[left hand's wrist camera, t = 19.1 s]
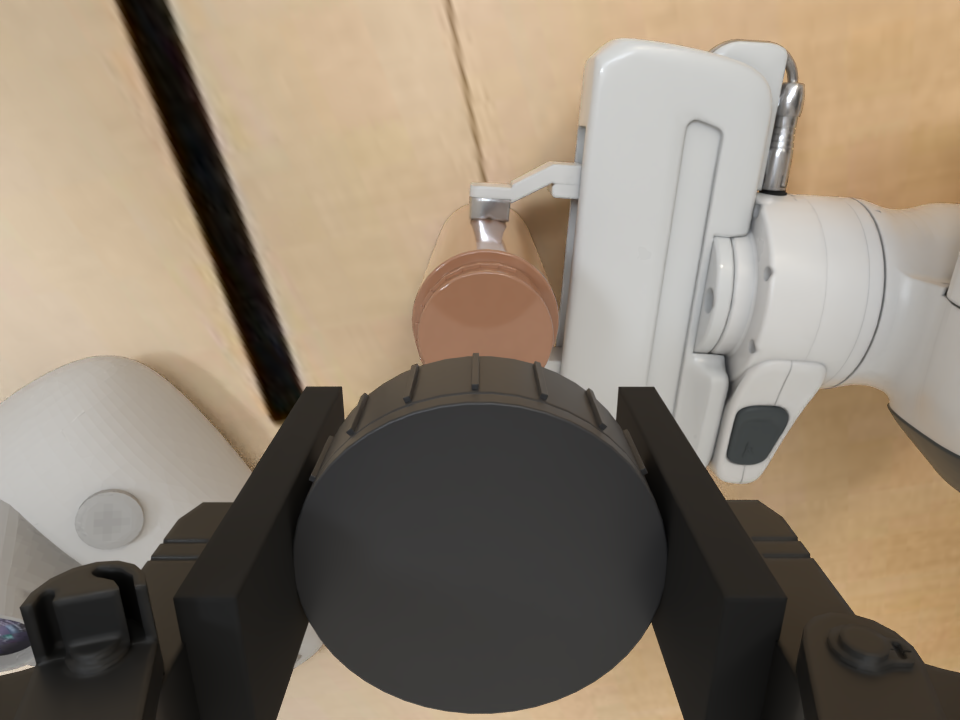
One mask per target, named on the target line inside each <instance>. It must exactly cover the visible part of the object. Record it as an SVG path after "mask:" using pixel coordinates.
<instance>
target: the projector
mask: <svg viewBox="0 0 960 720" xmlns="http://www.w3.org/2000/svg"><path fill="white" fill-rule="evenodd" d="M251 473H252V471H251V470H250V468H249V467H248V466H247V465H246V463H245V462H244V461H243V460H242V458H241V457H240V456H239V455H238V453H237V452H236V451H235V450H234V449H233V448H232V446H231V445H230V444H229V443H228V442H227V441H226V439H225V438H224V437H223V436H222V435H221V434H220V432H219V431H218V430H217V429H216V428H215V427H214V426H213V425H212V424H211V423H210V421H209V420H208V419H207V418H206V417H205V416H204V415H203V414H202V413H201V412H200V411H199V410H198V409H197V408H196V407H195V406H194V405H193V404H192V403H191V402H190V401H189V400H188V399H187V398H186V397H185V396H184V395H183V394H182V393H181V392H180V391H179V390H178V389H177V388H175V387H174V386H173V385H172V384H171V383H170V382H169V381H167V380H166V379H165V378H163V377H162V376H161V375H159V374H158V373H157V372H155V371H154V370H152V369H151V368H149V367H147V366H146V365H144V364H142V363H139V362H137V361H135V360H132V359H128V358H125V357H119V356H94V357H88V358H84V359H81V360H78V361H74V362H71V363H69V364H66V365H64V366H61V367H59V368H57V369H55V370H53V371H50V372H48V373H46V374H45V375H43V376H41V377H39V378H37V379H36V380H34V381H32V382H31V383H29V384H27V385H26V386H24V387H23V388H21V389H20V390H18V391H17V392H15V393H14V394H12V395H11V396H10V397H8V398H7V399H6V400H4V401H3V402H1V403H0V672H3V671H8V670H13V669H16V668H19V667H22V666H25V665H31V666H35V665H36V661H35V658H34V655H33V651H32V648H31V645H30V641H29V638H28V635H27V631H26V628H25V625H24V621H23V618H22V615H21V611H20V608H19V607H20V606H21V605H22V604H23V602H24V601H25V600H26V598H27V597H28V596H29V595H30V593H31V592H32V591H34V590H35V589H37V588H38V587H39V586H41V585H42V584H43V583H45V582H46V581H48V580H49V579H50V578H53V577H55V576H57V575H59V574H61V573H63V572H66V571H68V570H70V569H72V568H75V567H79V566H83V565H86V564H90V563H94V562H101V561H123V562H127V563H132V564H135V565H136V566H137V567H139V568H140V569H142V568H143V566H144V565H145V564H146V562H147V561H150V560H151V555H152V554H153V553H154V551H155V550H156V549H157V547H158V546H159V545H160V544H163V539H164V538H165V537H166V535H167V534H168V533H169V531H170V530H171V528H172V527H173V526H174V524H175V523H176V522H177V520H178V519H180V518H181V517H182V516H184V515H185V514H187V513H188V512H190V511H191V510H192V509H194V508H195V507H197V506H198V505H200V504H201V503H203V502H234V500H235V499H236V497H237V496H238V494H239V492H240V491H241V489H242V488H243V486H244V484H245V483H246V481H247V480H248V478H249V477H250V475H251ZM322 645H323V642H322V641H321V640H320V639H319V637H318V635H317V634H316V632H315V631H314V629H313V628H312V626H311V624H310V623H308V626H307V629H306V632H305V635H304V638H303V641H302V644H301V647H300V650H299V653H298V656H297V659H296V662H295V665H294V668H296V667H297V666H299V665H300V664H302V663H303V662H305V661H306V660H307V659H309V658H310V657H311V656H312V655H314V654H315V653H316V652H317V651H318V650H319V649H320V647H321V646H322ZM294 668H293V669H294Z"/></svg>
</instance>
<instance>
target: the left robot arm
mask: <svg viewBox="0 0 960 720" xmlns="http://www.w3.org/2000/svg"><path fill="white" fill-rule="evenodd" d="M344 421H345V419H344V407H343V394H342V387H306V388H305V389H304V391H303V393H302V394H301V396H300V397H299V399H298V401H297V402H296V404H295V405H294V407H293V408H292V410H291V412H290V413H289V415H288V416H287V418H286V420H285V421H284V423H283V424H282V426H281V427H280V429H279V431H278V432H277V434H276V435H275V437H274V439H273V440H272V442H271V443H270V445H269V446H268V448H267V450H266V451H265V453H264V454H263V456H262V458H261V459H260V461H259V462H258V464H257V465H256V467H255V469H254V470H253V472H252V473H251V475H250V477H249V478H248V480H247V481H246V483H245V484H244V486H243V488H242V489H241V491H240V492H239V494H238V496H237V497H236V499H235V500H234V502H203V503H201V504H200V505H198V506H197V507H195V508H194V509H192V510H191V511H190V512H188V513H187V514H185V515H184V516H182V517H181V518H180V519H178V520H177V522H176V523H175V524H174V526H173V527H172V528H171V530H170V531H169V533H168V534H167V535H166V537H165V538H164V539H163V544H160V545H159V546H158V547H157V549H156V550H155V551H154V553H153V554H152V555H151V560H150V561H147V562H146V564H145V565H144V566H143V568H142V569H140V568H139V567H137V566H136V565H135V564H132V563H127V562H123V561H101V562H94V563H90V564H86V565H83V566H79V567H75V568H72V569H70V570H68V571H66V572H63V573H61V574H59V575H57V576H55V577H53V578H50V579H49V580H48V581H46V582H45V583H43V584H42V585H41V586H39V587H38V588H37V589H35V590H34V591H32V592H31V593H30V595H29V596H28V597H27V598H26V600H25V601H24V602H23V604H22V605H21V606H20V607H19V608H20V611H21V615H22V618H23V621H24V625H25V628H26V631H27V635H28V638H29V641H30V645H31V648H32V651H33V655H34V658H35V661H36V665H35V667H33V668H29V669H26V670H23V671H19V672H15V673H10V674H6V675H2V676H0V720H276V719H277V716H278V713H279V710H280V707H281V704H282V701H283V698H284V695H285V692H286V689H287V686H288V683H289V680H290V677H291V674H292V671H293V668H294V665H295V662H296V659H297V656H298V653H299V650H300V647H301V644H302V641H303V638H304V635H305V632H306V629H307V626H308V623H309V621H308V619H307V617H306V614H305V612H304V610H303V608H302V605H301V603H300V600H299V596H298V593H297V589H296V581H295V573H294V564H293V540H294V535H295V530H296V524H297V520H298V518H299V515H300V512H301V509H302V507H303V504H304V501H305V499H306V497H307V495H308V492H309V491H310V488H311V486H312V484H313V482H312V481H309V478H310V476H311V474H312V472H313V469H314V467H315V465H316V463H317V461H318V459H319V457H320V454H321V452H322V450H323V448H324V446H325V444H326V442H327V439H328V438H329V436H332V437H335V435H336V433H337V431H338V429H339V427H340V426H341V425H342V423H343V422H344ZM616 421H617V423H618V424H619V425H620V427H621V429H622V430H623V431H624V430H626V429H627V430H628V431H629V433H630V435H631V437H632V440H633V442H634V444H635V446H636V448H637V450H638V453H639V455H640V457H641V459H642V461H643V463H644V466H645V468H646V470H647V472H648V473H647V474H645V475H644V476H645V478H646V481H647V483H648V485H649V487H650V490H651V492H652V494H653V496H654V499H655V501H656V503H657V506H658V509H659V511H660V514H661V517H662V519H663V523H664V528H665V533H666V538H667V548H668V559H667V569H666V577H665V585H664V590H663V594H662V598H661V601H660V604H659V606H658V609H657V611H656V613H655V615H654V618H653V620H652V625H653V628H654V631H655V634H656V637H657V640H658V643H659V646H660V649H661V652H662V655H663V658H664V661H665V664H666V667H667V670H668V673H669V676H670V679H671V682H672V685H673V688H674V691H675V694H676V697H677V700H678V703H679V706H680V709H681V712H682V715H683V718H684V720H960V673H958V672H954V671H949V670H945V669H941V668H937V667H934V666H931V665H927V664H924V662H923V661H922V659H921V658H920V656H919V655H918V653H917V652H916V650H915V649H914V647H913V646H912V645H910V644H909V643H908V642H907V641H906V640H904V639H903V638H902V637H901V636H900V635H898V634H897V633H896V632H894V631H893V630H891V629H889V628H887V627H885V626H883V625H881V624H879V623H877V622H875V621H873V620H870V619H867V618H863V617H860V616H857V615H855V614H854V612H853V611H852V610H851V608H850V607H849V606H848V604H847V603H846V602H845V600H844V599H843V598H842V596H841V595H840V594H839V592H838V591H837V590H836V588H835V587H834V586H833V584H832V583H831V582H830V580H829V579H828V577H827V576H826V575H825V573H824V572H823V571H822V569H821V568H820V567H819V565H818V564H817V563H816V561H815V560H814V559H813V558H810V553H809V552H808V551H807V549H806V548H805V547H804V545H803V544H802V543H801V541H798V537H797V536H796V535H795V533H794V532H793V531H792V529H791V528H790V526H789V525H788V524H787V522H786V521H785V520H784V518H783V517H781V516H780V515H779V514H777V513H776V512H774V511H773V510H771V509H770V508H768V507H767V506H766V505H764V504H763V503H761V502H760V501H758V500H725V498H724V496H723V495H722V493H721V492H720V490H719V489H718V487H717V485H716V484H715V482H714V481H713V479H712V477H711V476H710V474H709V473H708V471H707V470H706V468H705V466H704V465H703V463H702V462H701V460H700V458H699V457H698V455H697V454H696V452H695V451H694V449H693V447H692V446H691V444H690V443H689V441H688V439H687V438H686V436H685V435H684V433H683V432H682V430H681V428H680V427H679V425H678V424H677V422H676V420H675V419H674V417H673V416H672V414H671V413H670V411H669V409H668V408H667V406H666V405H665V403H664V401H663V400H662V398H661V397H660V395H659V394H658V392H657V390H656V389H655V387H618V399H617V412H616Z"/></svg>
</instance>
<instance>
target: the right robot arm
mask: <svg viewBox="0 0 960 720" xmlns="http://www.w3.org/2000/svg"><path fill="white" fill-rule="evenodd" d="M785 69H786V72H787V80H788V81H787V83H783V78H784V73H785ZM804 98H805V85H804V84H803V83H798V72H797V67H796V63H795V61H794V59H793V58H792V56H791V54H790V53H789V52H788V51H787V50H786V49H785V48H784V47H782V46H781V45H779V44H777V43H774V42H770V41H759V40H743V39H734V40H728V41H725V42H722V43H720V44H718V45H716V46H715V47H713V48H712V49H711V50H710V51H703V50H699V49H695V48H690V47H686V46H681V45H676V44H670V43H664V42H658V41H650V40H642V39H632V38H618V39H613V40H610V41H608V42H607V43H605V44H604V45H602V46H601V47H600V48H599V49H597V50H596V51H595V52H594V53H593V54H592V55H591V56H590V57H589V58H588V59H587V61H586V62H585V66H584V72H583V81H582V91H581V101H580V110H579V120H578V130H577V140H576V150H575V160H574V162H556V161H548V162H546V163H544V164H543V165H541V166H539V167H537V168H535V169H533V170H531V171H529V172H527V173H525V174H523V175H521V176H519V177H518V178H516V179H514V180H512V181H510V184H502V183H485V182H473V183H471V184H470V197H469V219H473V220H485V219H487V218H488V217H489V218H491V219H492V220H494V221H503V222H509V213H510V202H511V203H513V202H515V201H517V200H519V199H521V198H523V197H525V196H527V195H529V194H531V193H533V192H535V191H537V190H539V189H541V188H543V187H545V186H547V185H548V187H547V190H548V191H549V192H550V194H551V195H552V196H553V197H554V198H567V199H570V209H569V219H568V229H567V238H566V248H565V258H564V268H563V278H562V288H561V297H560V307H559V327H558V334H557V337H556V347H553V348H552V351H551V354H550V357H549V360H548V362H547V364H546V366H545V367H544V368H546V369H549V370H551V371H554V372H557V373H558V374H560V375H562V376H564V377H566V378H568V379H569V380H571V381H573V382H575V383H576V384H578V385H579V386H581V387H582V388H583V389H585V390H587V389H588V388H590V389H591V390H592V391H593V392H594V395H595V397H596V399H597V400H598V401H599V402H600V403H601V404H602V405H603V406H604V407H605V408H606V409H607V410H608V411H609V412H610V414H611V415H612V416H613V418H614V419H615V420H616V412H617V399H618V387H655V389H656V390H657V392H658V394H659V395H660V397H661V398H662V400H663V401H664V403H665V405H666V406H667V408H668V409H669V411H670V413H671V414H672V416H673V417H674V419H675V420H676V422H677V424H678V425H679V427H680V428H681V430H682V432H683V433H684V435H685V436H686V438H687V439H688V441H689V443H690V444H691V446H692V447H693V449H694V451H695V452H696V454H697V455H698V457H699V458H700V460H701V462H702V463H703V465H704V466H705V468H706V467H707V466H708V467H709V468H710V469H711V470H712V471H713V473H714V474H715V475H716V476H717V477H718V478H719V479H720V480H722V481H724V482H728V483H735V484H746V483H751V482H753V481H755V480H756V479H758V478H759V477H760V476H761V474H762V473H763V472H764V470H765V469H766V467H767V466H768V464H769V462H770V460H771V459H772V457H773V455H774V454H775V452H776V451H777V449H778V447H779V446H780V444H781V442H782V441H783V439H784V438H785V436H786V434H787V433H788V431H789V430H790V428H791V427H792V425H793V424H794V422H795V421H796V419H797V418H798V416H799V415H800V414H801V412H802V411H803V410H804V408H805V407H806V405H807V404H808V403H809V402H810V400H811V399H812V398H813V397H814V395H815V394H816V393H817V391H818V390H819V389H829V388H835V387H841V386H848V385H865V386H870V387H874V388H876V389H879V390H881V391H883V392H884V393H885V394H886V395H887V396H888V398H889V401H890V402H889V403H888V405H887V406H888V409H889V410H890V412H891V414H892V415H893V417H894V418H895V420H896V421H897V423H898V424H899V426H900V427H901V428H902V429H903V431H904V432H905V433H906V435H907V436H908V437H909V438H910V439H911V441H912V442H913V443H914V444H915V445H916V447H917V448H918V449H919V450H920V452H921V453H922V454H923V455H924V457H925V458H926V459H927V460H928V462H929V463H930V464H931V465H932V466H933V468H934V469H935V470H936V472H937V473H938V474H939V475H940V476H941V477H942V478H943V479H944V480H945V481H946V482H947V483H948V484H950V485H951V486H952V487H953V488H955V489H956V490H957V491H959V492H960V204H954V203H931V204H924V205H920V206H915V207H911V208H906V209H889V208H885V207H882V206H879V205H876V204H874V203H871V202H869V201H866V200H863V199H857V198H851V197H835V196H818V195H801V194H787V193H786V186H787V182H788V176H789V171H790V166H791V162H792V156H793V148H794V143H793V141H794V137H795V136H794V134H795V131H796V130H795V128H796V126H797V121H798V117H800V115H801V113H802V109H803V105H804ZM757 190H759V192H757Z"/></svg>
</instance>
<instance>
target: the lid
mask: <svg viewBox="0 0 960 720" xmlns="http://www.w3.org/2000/svg"><path fill="white" fill-rule="evenodd" d="M647 473H648V472H647V470H646V468H645V466H644V463H643V461H642V459H641V457H640V455H639V453H638V450H637V448H636V446H635V444H634V442H633V440H632V437H631V435H630V433H629V431H628V430H627V429H626V430H624V431H623V430H622V429H621V427H620V425H619V424H618V423H617V421H616V420H615V419H614V418H613V416H612V415H611V414H610V412H609V411H608V410H607V409H606V408H605V407H604V406H603V405H602V404H601V403H600V402H599V401H598V400H597V399H596V397H595V395H594V392H593V391H592V390H591V389H590V388H588V389H587V390H585V389H583V388H582V387H581V386H579V385H578V384H576V383H575V382H573V381H571V380H569V379H568V378H566V377H564V376H562V375H560V374H558V373H557V372H554V371H551V370H549V369H546V368H544V367H541V363H540V362H537V361H535V362H534V364H532V363H528V362H524V361H520V360H516V359H510V358H502V357H494V356H479V353H473V355H472V356H466V357H458V358H450V359H444V360H440V361H436V362H432V363H428V364H424V365H422V366H418V364H415V365H412V366H411V370H409V371H406V372H404V373H402V374H400V375H398V376H396V377H395V378H393V379H391V380H389V381H387V382H386V383H384V384H382V385H381V386H380V387H378V388H377V389H376V390H374V391H373V392H372V393H370V394H369V395H367V394H366V393H364V394H363V395H362V396H361V398H360V400H359V403H358V405H357V406H356V407H355V408H354V409H353V410H352V411H351V413H350V414H349V415H348V417H347V418H346V419H345V421H344V422H343V423H342V425H341V426H340V427H339V429H338V431H337V433H336V435H335V437H332V436H329V438H328V439H327V442H326V444H325V446H324V448H323V450H322V452H321V454H320V457H319V459H318V461H317V463H316V465H315V467H314V469H313V472H312V474H311V476H310V478H309V481H312V482H313V484H312V486H311V488H310V491H309V492H308V495H307V497H306V499H305V501H304V504H303V507H302V509H301V512H300V515H299V518H298V520H297V524H296V530H295V535H294V540H293V564H294V573H295V581H296V589H297V593H298V596H299V600H300V603H301V605H302V608H303V610H304V612H305V614H306V617H307V619H308V621H309V623H310V624H311V626H312V628H313V629H314V631H315V632H316V634H317V635H318V637H319V639H320V640H321V641H322V642H323V643H324V645H325V646H326V647H327V648H328V649H329V651H330V652H331V653H332V654H333V655H334V656H335V657H336V658H337V659H338V660H339V661H340V662H341V663H342V664H344V665H345V666H346V667H347V668H348V669H349V670H350V671H352V672H353V673H355V674H356V675H357V676H359V677H360V678H361V679H363V680H364V681H366V682H367V683H369V684H371V685H373V686H375V687H376V688H378V689H380V690H382V691H383V692H385V693H388V694H390V695H392V696H395V697H397V698H399V699H402V700H404V701H407V702H411V703H414V704H417V705H420V706H424V707H427V708H432V709H437V710H442V711H448V712H458V713H468V714H493V713H503V712H513V711H518V710H523V709H528V708H533V707H537V706H540V705H544V704H547V703H550V702H553V701H556V700H559V699H561V698H563V697H566V696H568V695H570V694H573V693H575V692H577V691H579V690H581V689H582V688H584V687H586V686H588V685H590V684H591V683H593V682H595V681H596V680H598V679H599V678H600V677H602V676H603V675H605V674H606V673H607V672H609V671H610V670H611V669H613V668H614V667H615V666H616V665H617V664H618V663H619V662H620V661H621V660H622V659H623V658H625V657H626V656H627V655H628V654H629V652H630V651H631V650H632V649H633V648H634V646H635V645H636V644H637V643H638V642H639V640H640V639H641V638H642V636H643V635H644V633H645V631H646V630H647V628H648V627H649V625H650V623H651V622H652V620H653V618H654V615H655V613H656V611H657V609H658V606H659V604H660V601H661V598H662V594H663V590H664V585H665V577H666V569H667V559H668V548H667V538H666V533H665V528H664V523H663V519H662V517H661V514H660V511H659V509H658V506H657V503H656V501H655V499H654V496H653V494H652V492H651V490H650V487H649V485H648V483H647V481H646V478H645V476H644V475H645V474H647Z"/></svg>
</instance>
